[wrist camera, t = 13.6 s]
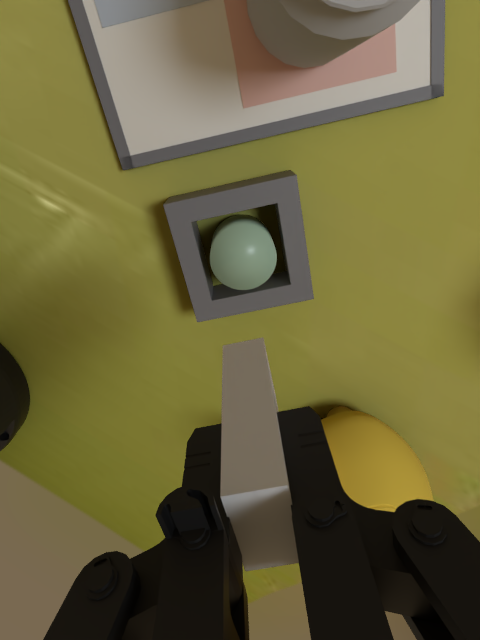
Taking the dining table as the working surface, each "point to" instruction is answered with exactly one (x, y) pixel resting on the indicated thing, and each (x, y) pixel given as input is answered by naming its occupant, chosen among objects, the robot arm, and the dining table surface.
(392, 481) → the teapot
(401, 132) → the dining table surface
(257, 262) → the button
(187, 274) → the button housing
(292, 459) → the robot arm
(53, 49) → the dining table surface
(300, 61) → the can
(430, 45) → the picture sheet
